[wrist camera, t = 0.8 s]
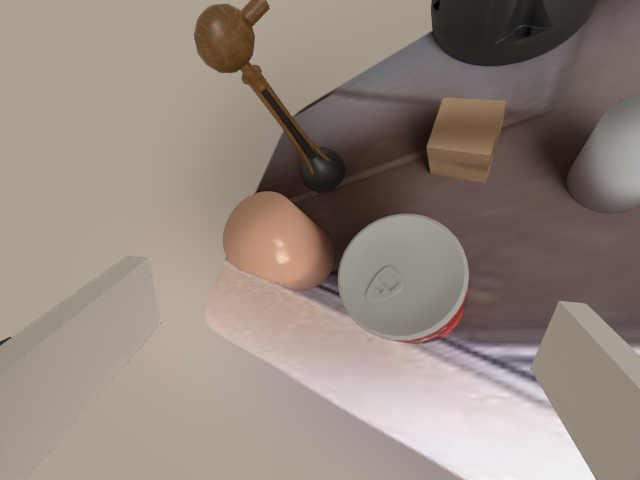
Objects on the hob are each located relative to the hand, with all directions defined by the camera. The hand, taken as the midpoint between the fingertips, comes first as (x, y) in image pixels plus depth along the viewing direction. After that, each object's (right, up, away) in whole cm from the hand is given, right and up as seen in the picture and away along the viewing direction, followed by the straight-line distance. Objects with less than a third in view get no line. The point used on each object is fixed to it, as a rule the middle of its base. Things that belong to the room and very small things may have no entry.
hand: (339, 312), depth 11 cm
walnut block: (+13, +11, +21) cm, 27 cm away
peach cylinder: (-2, +1, +24) cm, 24 cm away
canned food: (+8, -3, +19) cm, 21 cm away
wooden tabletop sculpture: (0, +10, +26) cm, 28 cm away
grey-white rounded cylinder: (+23, +7, +16) cm, 29 cm away
